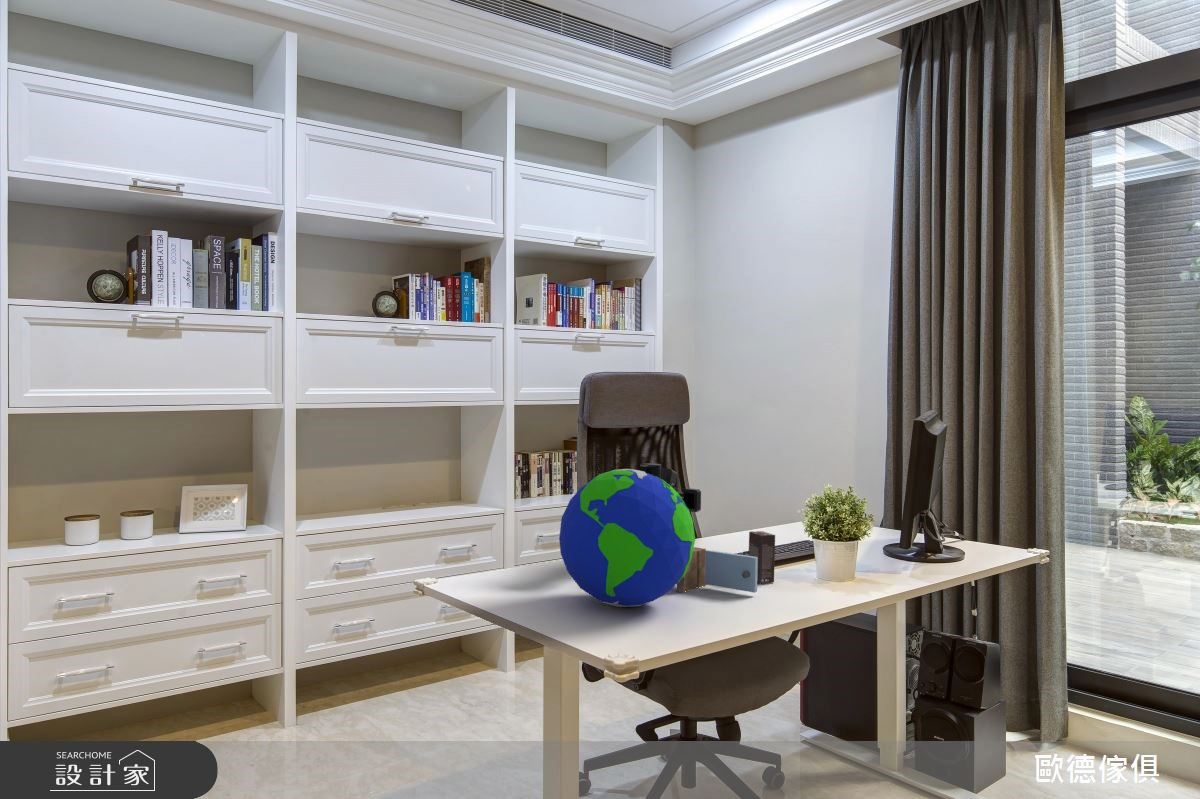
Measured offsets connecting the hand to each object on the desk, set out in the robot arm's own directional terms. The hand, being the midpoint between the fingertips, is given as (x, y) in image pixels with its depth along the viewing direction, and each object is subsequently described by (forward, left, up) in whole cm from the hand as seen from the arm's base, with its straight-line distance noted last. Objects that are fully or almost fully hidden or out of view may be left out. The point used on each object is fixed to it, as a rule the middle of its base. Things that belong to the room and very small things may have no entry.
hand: (686, 494), depth 240 cm
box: (-18, -33, -17) cm, 42 cm away
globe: (-58, -21, -17) cm, 64 cm away
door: (-34, -33, -16) cm, 50 cm away
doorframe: (-30, -24, -16) cm, 42 cm away
